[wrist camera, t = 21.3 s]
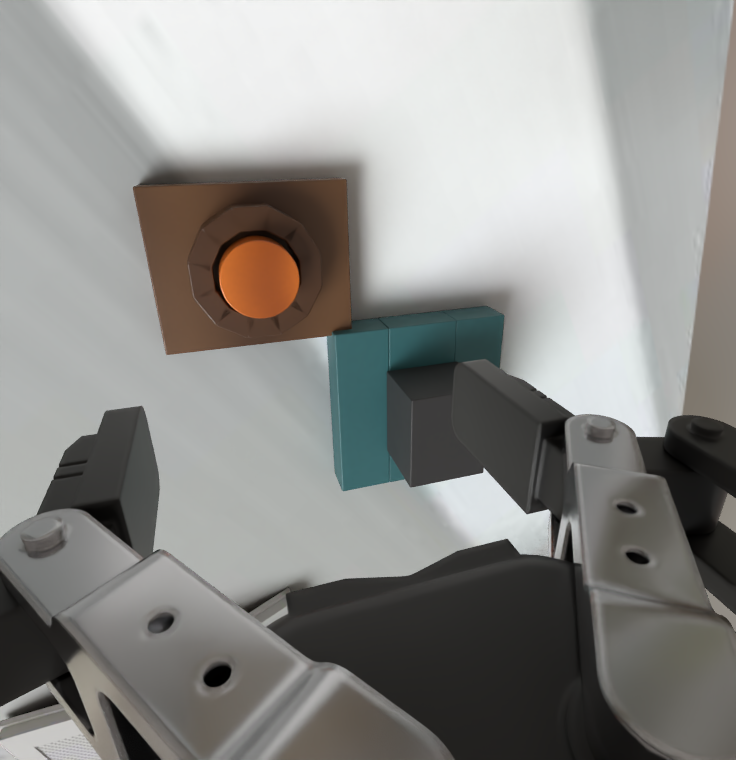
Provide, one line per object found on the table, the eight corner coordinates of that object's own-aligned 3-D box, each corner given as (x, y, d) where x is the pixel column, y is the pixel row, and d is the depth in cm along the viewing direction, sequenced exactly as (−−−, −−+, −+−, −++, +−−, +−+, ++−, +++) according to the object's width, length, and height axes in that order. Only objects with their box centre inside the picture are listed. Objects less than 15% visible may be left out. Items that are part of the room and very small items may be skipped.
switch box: (168, 345, 30) (164, 366, 27) (136, 185, 26) (127, 188, 23) (345, 325, 33) (360, 343, 30) (339, 177, 29) (355, 180, 26)
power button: (224, 313, 27) (225, 322, 26) (213, 237, 26) (213, 242, 24) (297, 306, 28) (302, 314, 27) (291, 233, 27) (296, 237, 25)
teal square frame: (334, 473, 37) (342, 492, 35) (325, 323, 33) (334, 334, 30) (475, 446, 40) (490, 462, 38) (487, 305, 35) (504, 314, 33)
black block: (375, 433, 37) (410, 488, 31) (374, 357, 34) (411, 400, 28) (438, 422, 38) (483, 473, 32) (441, 348, 36) (491, 388, 30)
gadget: (289, 586, 40) (297, 623, 37) (345, 690, 47) (355, 728, 44) (0, 718, 37) (-19, 771, 34) (105, 808, 44) (97, 859, 41)
